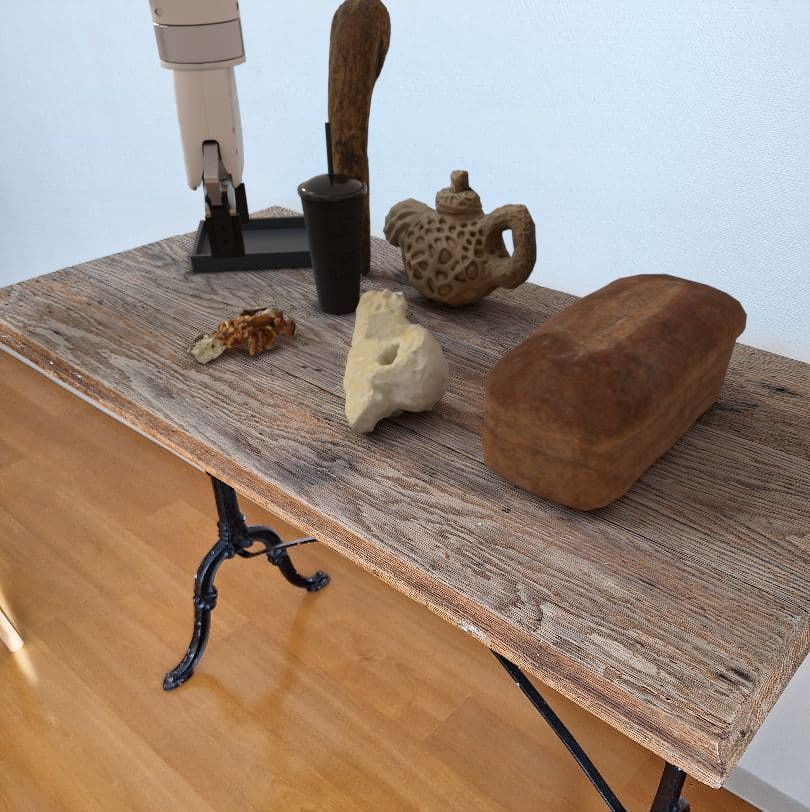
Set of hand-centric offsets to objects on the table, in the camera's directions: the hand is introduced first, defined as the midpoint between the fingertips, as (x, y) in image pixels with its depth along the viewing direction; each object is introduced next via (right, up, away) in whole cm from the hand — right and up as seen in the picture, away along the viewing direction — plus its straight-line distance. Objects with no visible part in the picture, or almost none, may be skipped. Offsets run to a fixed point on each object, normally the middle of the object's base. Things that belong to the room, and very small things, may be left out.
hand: (232, 239), depth 82 cm
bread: (+36, -21, -7) cm, 43 cm away
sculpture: (+13, +4, +23) cm, 27 cm away
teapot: (+24, -2, +16) cm, 29 cm away
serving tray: (-2, +10, +30) cm, 31 cm away
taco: (0, -9, +8) cm, 12 cm away
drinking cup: (+10, -2, +15) cm, 18 cm away
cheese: (+15, -16, -1) cm, 22 cm away
